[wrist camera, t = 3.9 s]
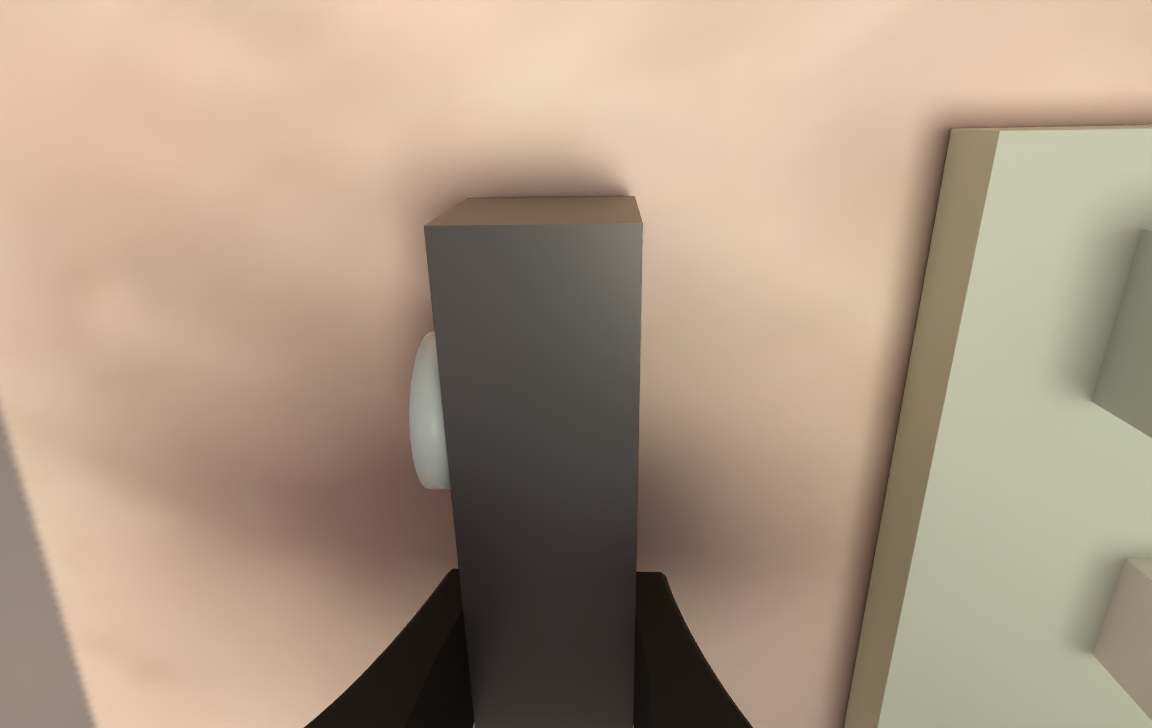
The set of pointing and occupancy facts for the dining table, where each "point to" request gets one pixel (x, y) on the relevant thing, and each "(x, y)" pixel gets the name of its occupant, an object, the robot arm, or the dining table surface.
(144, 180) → the dining table surface
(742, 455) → the dining table surface
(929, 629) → the stand
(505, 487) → the bar
